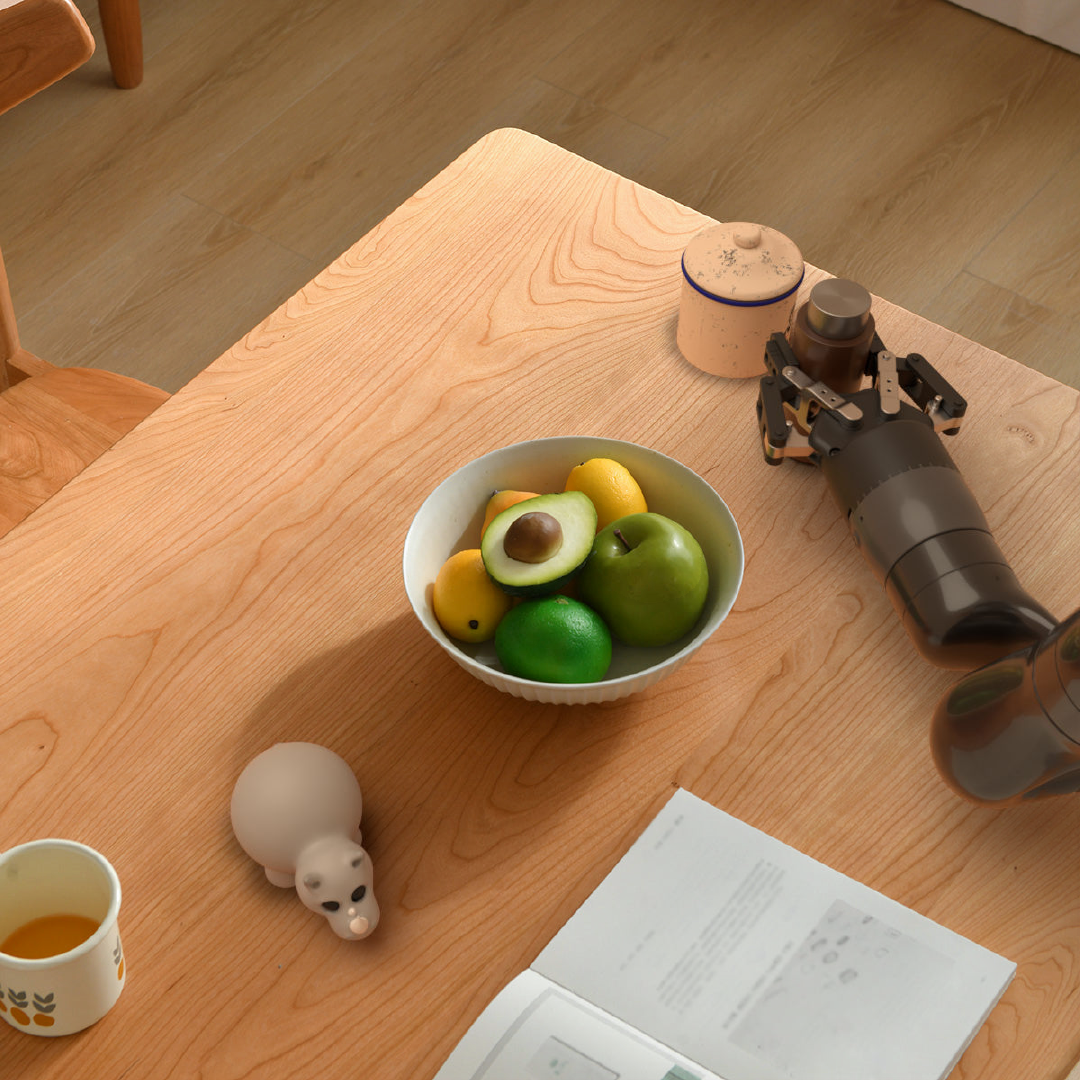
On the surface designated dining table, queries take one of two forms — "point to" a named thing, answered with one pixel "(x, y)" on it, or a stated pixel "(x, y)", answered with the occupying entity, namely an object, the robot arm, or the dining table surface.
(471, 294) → the dining table surface
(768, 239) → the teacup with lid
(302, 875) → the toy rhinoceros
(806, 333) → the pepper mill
